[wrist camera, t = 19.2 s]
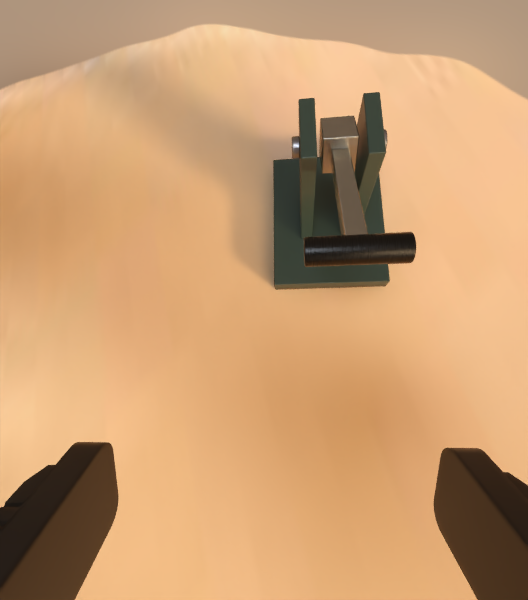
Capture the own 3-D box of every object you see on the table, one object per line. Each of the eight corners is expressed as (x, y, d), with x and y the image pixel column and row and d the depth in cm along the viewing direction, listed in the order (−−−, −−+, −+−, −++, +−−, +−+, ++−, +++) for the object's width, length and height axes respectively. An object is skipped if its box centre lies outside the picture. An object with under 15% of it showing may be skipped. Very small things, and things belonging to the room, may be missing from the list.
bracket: (385, 286, 31) (441, 216, 18) (275, 289, 32) (258, 225, 20) (373, 162, 34) (414, 34, 22) (274, 169, 35) (259, 50, 23)
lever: (408, 276, 16) (421, 238, 15) (304, 279, 17) (304, 243, 15) (370, 148, 24) (376, 113, 22) (299, 154, 24) (299, 119, 23)
